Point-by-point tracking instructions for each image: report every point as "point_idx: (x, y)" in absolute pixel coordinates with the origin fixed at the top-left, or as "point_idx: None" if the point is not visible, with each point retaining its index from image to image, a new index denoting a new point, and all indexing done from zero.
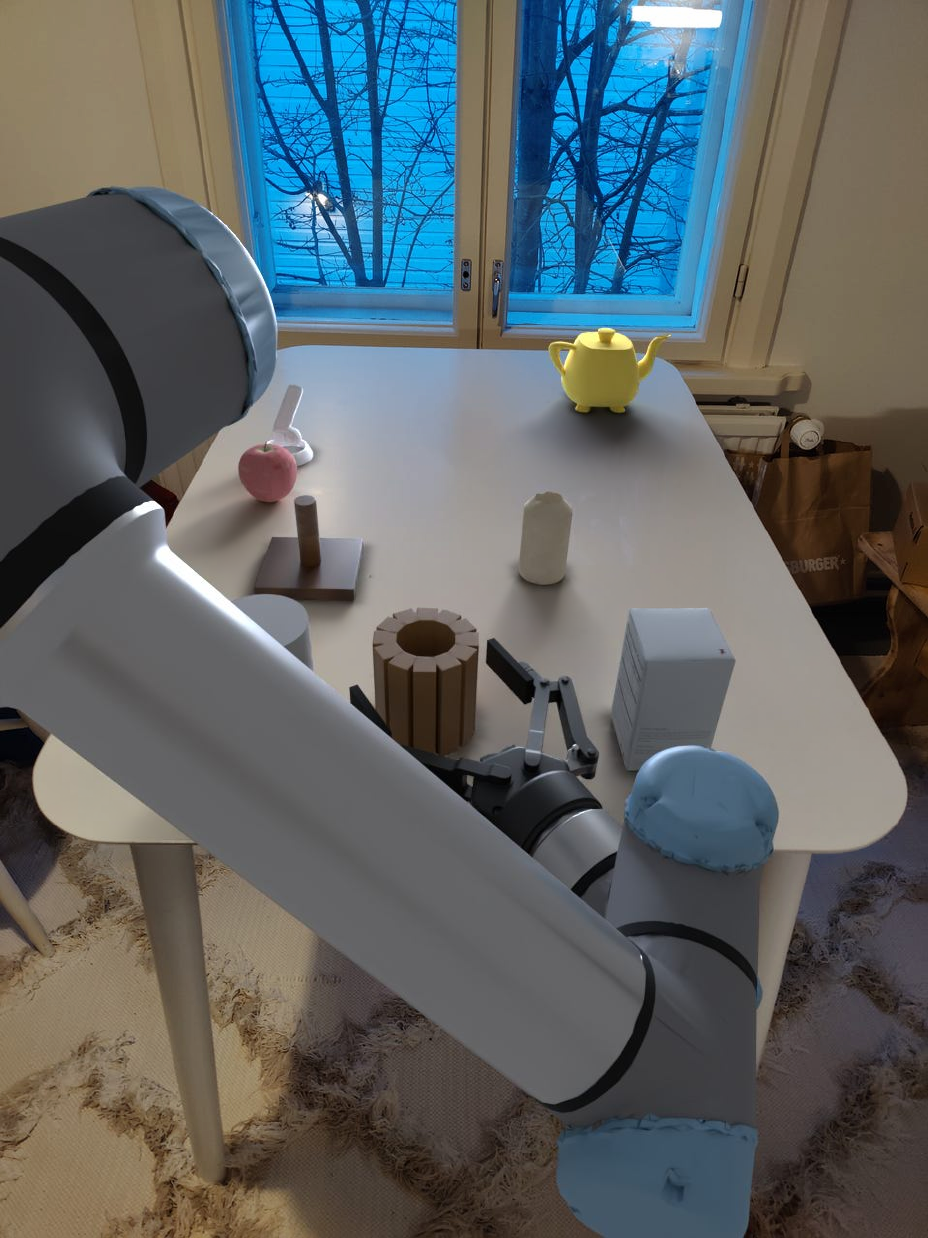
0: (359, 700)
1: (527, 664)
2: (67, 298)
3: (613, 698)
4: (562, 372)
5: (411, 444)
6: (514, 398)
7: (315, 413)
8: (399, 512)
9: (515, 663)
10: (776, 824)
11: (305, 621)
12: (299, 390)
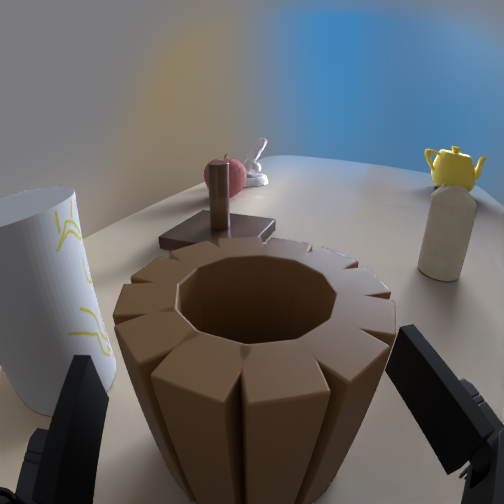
0: (62, 389)
1: (472, 387)
2: None
3: None
4: (432, 167)
5: (336, 186)
6: (403, 181)
7: (280, 171)
8: (316, 213)
9: (457, 386)
10: None
11: (44, 209)
12: (264, 140)
